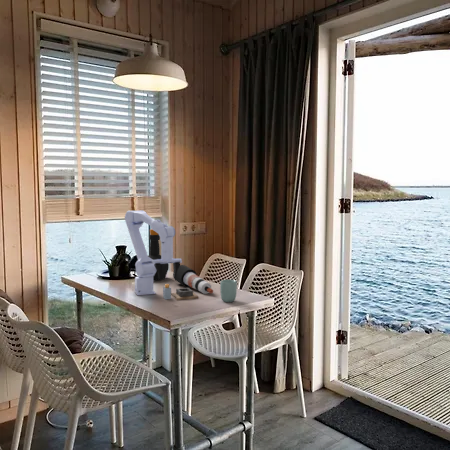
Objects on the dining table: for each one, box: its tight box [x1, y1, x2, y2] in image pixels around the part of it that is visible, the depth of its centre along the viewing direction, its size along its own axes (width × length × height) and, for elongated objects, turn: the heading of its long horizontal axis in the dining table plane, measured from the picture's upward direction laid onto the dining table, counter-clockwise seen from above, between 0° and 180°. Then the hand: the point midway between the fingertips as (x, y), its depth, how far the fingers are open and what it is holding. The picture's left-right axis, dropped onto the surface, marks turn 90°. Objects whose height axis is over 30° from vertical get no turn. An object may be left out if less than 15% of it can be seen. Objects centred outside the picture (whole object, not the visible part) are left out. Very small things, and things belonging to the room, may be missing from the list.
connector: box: [162, 283, 172, 300], centre depth 220 cm, size 3×4×7 cm
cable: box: [172, 264, 214, 295], centre depth 240 cm, size 10×34×10 cm, turn 33°
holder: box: [171, 287, 199, 301], centre depth 223 cm, size 11×11×4 cm
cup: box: [219, 279, 238, 303], centre depth 215 cm, size 8×8×10 cm
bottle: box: [148, 228, 170, 282], centre depth 265 cm, size 16×16×30 cm
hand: (167, 277), depth 219 cm, fingers open, 7 cm apart
